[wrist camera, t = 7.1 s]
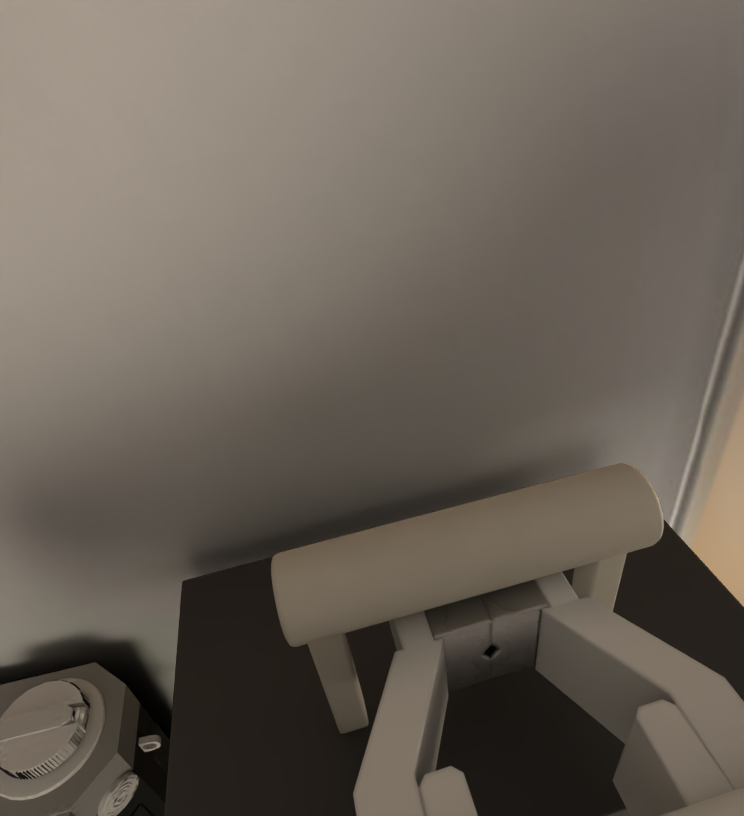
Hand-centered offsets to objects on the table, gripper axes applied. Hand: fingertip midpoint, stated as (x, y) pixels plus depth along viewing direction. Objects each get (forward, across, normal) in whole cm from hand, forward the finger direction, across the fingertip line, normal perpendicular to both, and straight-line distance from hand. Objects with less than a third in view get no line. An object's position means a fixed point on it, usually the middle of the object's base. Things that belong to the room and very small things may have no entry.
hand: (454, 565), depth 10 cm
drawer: (+4, 0, +7) cm, 8 cm away
